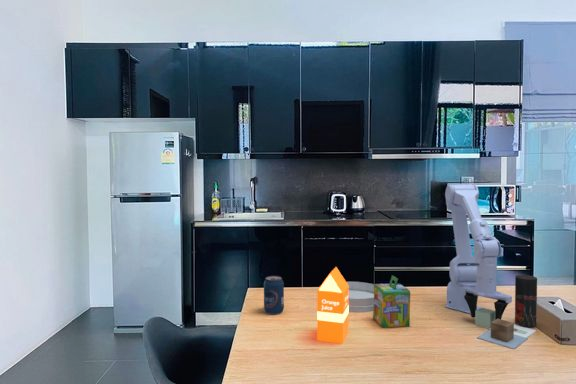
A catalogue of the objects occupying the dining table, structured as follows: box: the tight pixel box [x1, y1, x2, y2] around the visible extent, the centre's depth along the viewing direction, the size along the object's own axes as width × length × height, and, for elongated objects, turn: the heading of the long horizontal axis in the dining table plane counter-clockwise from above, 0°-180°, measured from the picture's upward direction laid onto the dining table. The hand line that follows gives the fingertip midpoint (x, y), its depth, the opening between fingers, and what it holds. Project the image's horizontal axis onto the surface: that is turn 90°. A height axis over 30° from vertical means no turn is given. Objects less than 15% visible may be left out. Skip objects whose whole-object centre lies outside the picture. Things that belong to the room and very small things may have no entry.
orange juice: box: [316, 266, 350, 344], centre depth 120 cm, size 8×9×20 cm
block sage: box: [474, 307, 495, 329], centre depth 129 cm, size 4×4×4 cm
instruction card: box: [514, 324, 537, 338], centre depth 123 cm, size 7×9×1 cm
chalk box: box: [372, 275, 411, 329], centre depth 131 cm, size 9×9×15 cm
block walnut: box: [490, 318, 515, 342], centre depth 118 cm, size 4×4×4 cm
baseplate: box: [477, 328, 528, 350], centre depth 118 cm, size 10×10×1 cm
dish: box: [346, 281, 374, 313], centre depth 152 cm, size 22×22×5 cm
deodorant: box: [514, 274, 538, 329], centre depth 129 cm, size 6×6×15 cm
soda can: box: [263, 275, 285, 316], centre depth 142 cm, size 7×7×12 cm
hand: (485, 320), depth 129 cm, fingers open, 7 cm apart
